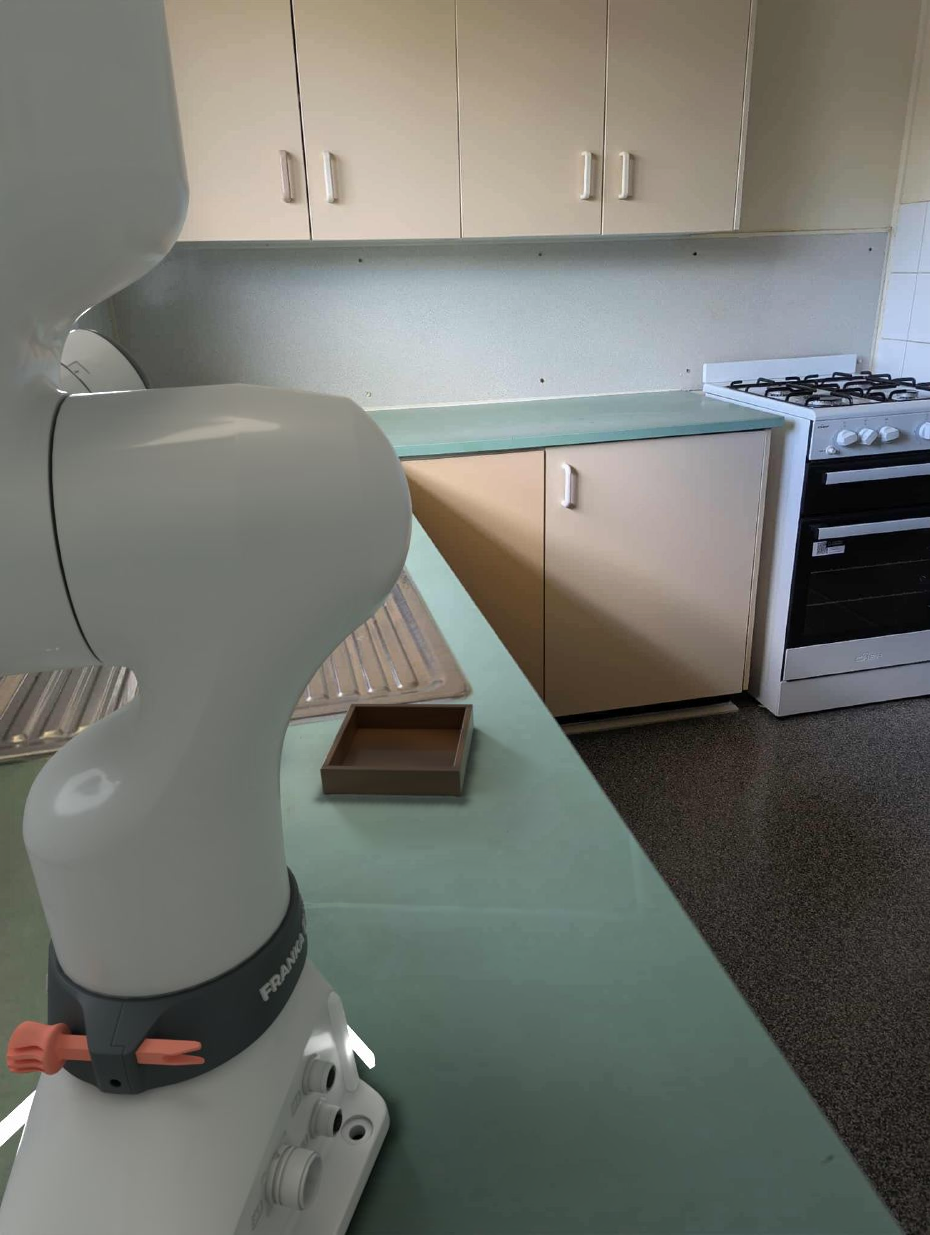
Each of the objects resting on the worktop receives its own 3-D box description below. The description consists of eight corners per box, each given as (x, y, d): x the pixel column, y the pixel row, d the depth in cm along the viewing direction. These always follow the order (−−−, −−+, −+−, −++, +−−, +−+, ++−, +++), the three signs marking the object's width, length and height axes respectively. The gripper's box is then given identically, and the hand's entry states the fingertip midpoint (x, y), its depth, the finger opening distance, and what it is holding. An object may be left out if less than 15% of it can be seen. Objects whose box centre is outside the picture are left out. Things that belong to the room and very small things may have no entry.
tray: (461, 801, 76) (459, 770, 74) (323, 799, 77) (319, 768, 76) (474, 731, 87) (472, 704, 86) (353, 730, 88) (351, 703, 87)
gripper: (76, 541, 65) (217, 666, 67) (206, 477, 83) (314, 576, 85) (37, 595, 68) (174, 714, 69) (171, 521, 86) (277, 617, 88)
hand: (252, 637), depth 77 cm, fingers closed on spice jar, 5 cm apart
